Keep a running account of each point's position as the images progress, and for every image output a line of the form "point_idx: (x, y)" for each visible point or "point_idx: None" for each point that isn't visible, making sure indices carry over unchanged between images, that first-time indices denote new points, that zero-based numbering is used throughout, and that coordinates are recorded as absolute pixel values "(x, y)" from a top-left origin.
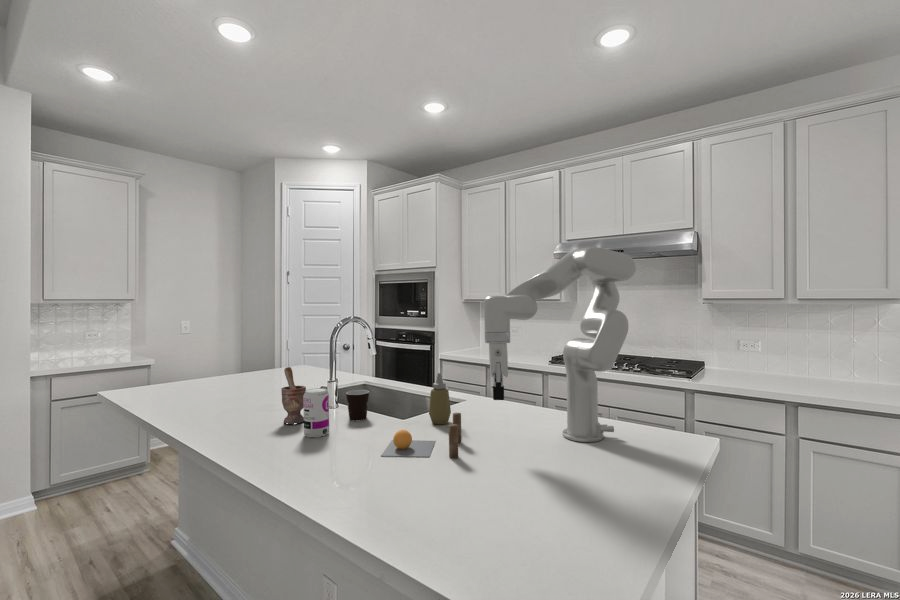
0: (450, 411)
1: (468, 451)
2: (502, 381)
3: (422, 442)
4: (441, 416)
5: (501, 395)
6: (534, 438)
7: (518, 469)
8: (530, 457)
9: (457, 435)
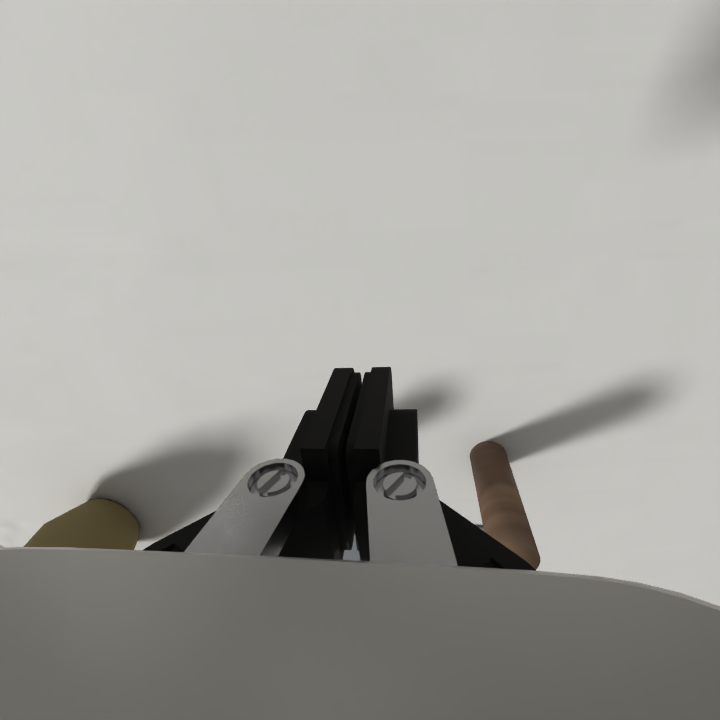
0: (65, 525)
1: (421, 410)
2: (449, 540)
3: (350, 555)
4: (120, 543)
5: (389, 410)
6: (183, 103)
7: (657, 188)
8: (489, 124)
9: (515, 506)
